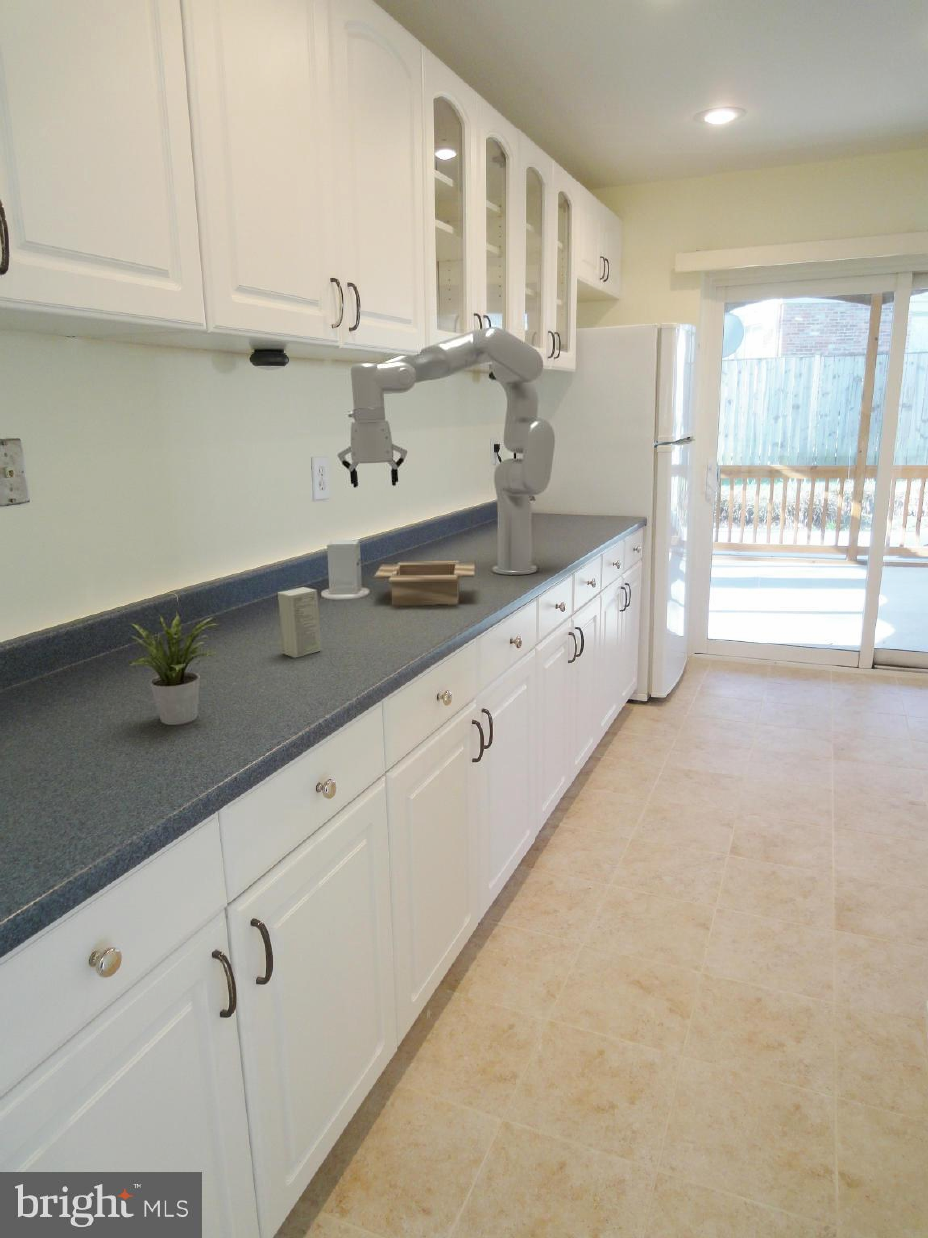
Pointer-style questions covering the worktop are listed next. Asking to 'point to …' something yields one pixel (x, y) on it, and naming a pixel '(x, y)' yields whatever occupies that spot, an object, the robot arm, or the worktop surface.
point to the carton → (425, 581)
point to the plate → (361, 593)
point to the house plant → (174, 672)
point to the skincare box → (299, 621)
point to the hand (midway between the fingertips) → (375, 486)
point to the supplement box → (344, 566)
